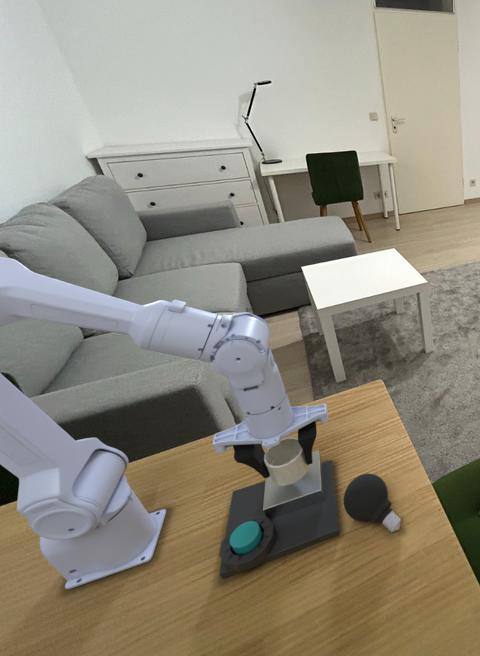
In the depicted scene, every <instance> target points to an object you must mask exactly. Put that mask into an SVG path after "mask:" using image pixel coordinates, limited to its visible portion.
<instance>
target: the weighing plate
mask: <svg viewBox="0 0 480 656" xmlns="http://www.w3.org/2000/svg"><path fill="white" fill-rule="evenodd" d="M312 461H313V463H312V464H309V468H308V471H307V473H306V474H305V475H304V476H303V477H302V478H301V479H300V480H298V481H297V482H295V483H293V484H290V485H286V486H279V485H277V484H275V483H273V481H272V479H271V477H270V476H269V477H268V478H265V480H264V481H265V492H264V504H263V511H264V513H265V515H266V517H268V518H269V520H271V519H274V518H277V517H280V516H283V515H285V514H288V513H291V512H294V511H297V510H300V509H303V508H306V507H308V506H311V505H314V504H317V503H320V502H323V501H325V495H324V479H323V462H324V461H323V459H322V455H321V452H320V449H318V450H315V451H312Z"/></svg>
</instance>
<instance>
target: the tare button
mask: <svg viewBox="0 0 480 656" xmlns="http://www.w3.org/2000/svg"><path fill="white" fill-rule="evenodd" d="M261 539H262V531H261V529H260V527H259V525H258V523H256V522H254V521H249V522H245V523H243V524H241V525H240V526H238V527H237V528H236V529H235V530H234V531H233V533H232V534H231V537H230V545H231V546H232V548H233V550H234V552H235V553H237V554H245V553H248V552H250V551H252V550H253V549H254V548H255V547H256V546H257V545H258V544H259V543H260V541H261Z"/></svg>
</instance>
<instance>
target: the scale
mask: <svg viewBox="0 0 480 656" xmlns="http://www.w3.org/2000/svg"><path fill="white" fill-rule="evenodd" d="M334 468H335V467H334V463H333V460H332V459H329V460H326V461H323V479H324V495H325V501H323V502H320V503H317V504H314V505H311V506H308V507H306V508H303V509H300V510H297V511H294V512H291V513H288V514H285V515H283V516H280V517H277V518H274V519H271V520H269V518H268V517H266V515H265V513H264V511H263V504H264V492H265V480H264V481H261V482H258V483H255V484H251V485H248V486H245V487H243V488H238V489H235V490H233V491H232V495H231V500H230V508H229V513H228V519H227V525H226V532H225V537H224V538H223V540H222V541H221V544H220V547H219V548H220V549H219V557H220V559H221V561H220V567H219V576H220V578H221V580H226V579H228V578H231V577H233V576H236V575H239V574H242V573H244V572H247V571H249V570H252V569H254V568H258V567H261V566H263V565H266V564H268V563H271V562H273V561H276V560H278V559H281V558H283V557H286V556H289V555H292V554H294V553H297V552H300V551H302V550H305V549H307V548H310V547H313V546H315V545H318V544H320V543H321V544H322V543H323V542H326V541H329V540H331V539H335V538H336V537H339V536H340V525H339V514H338V513H339V512H338V503H337V492H336V491H337V490H336V481H335V471H334V470H335V469H334ZM249 521H254V522H256V523H258V525H259V527H260V529H261V531H262V539H261V541H260V543H259V544H258V545H257V546H256V547H255V548H254V549H253V550H252V551H250V552H248V553H245V554H237V553H235V552H234V550H233V548H232V546H231V545H230V537H231V534H232V533H233V531H234V530H235V529H236V528H237V527H238V526H240V525H241V524H243V523H245V522H249Z"/></svg>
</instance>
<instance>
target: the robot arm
mask: <svg viewBox="0 0 480 656" xmlns="http://www.w3.org/2000/svg"><path fill="white" fill-rule="evenodd" d="M25 320H33V321H39V322H46V323H52V324H58V325H64V326H70V327H77V328H83V329H89V330H95V331H101V332H108V333H114V334H121V335H127V336H129V338H131V339H132V341H133V342H134V343H135V344H136V346H137V347H138V348H139V349H141V350H145V351H150V352H155V353H161V354H165V355H171V356H175V357H180V358H184V359H190V360H196V361H200V362H205V363H209V366H210V367H211V369H212V370H213V371H214V372H216V373H217V374H218V375H220V376H222V377H224V378H226V379H227V381H228V385H229V387H230V389H231V391H232V394H233V396H234V399H235V401H236V403H237V405H238V407H239V410H240V413H241V415H242V417H243V420H244V421H242V422H240V423H238V424H236V425H233V426H232V427H230V428H228V429H225V430H222V431H220V432H216V433H214V435H213V440H212V446H213V448H214V450H215V453H216V454H217V455H218V454H221V453H225V452H226V451H227V449H228V448H230V447H232V448H233V452H234V453H233V460H234V461H235V462H236V463H238V464H243V465H245V466H248V467H249V468H251V469H253V470H254V471H256V472H257V473H258V474H260V475H261V476H262V478H264V479H266V478H268V477H269V476H270V475H269V472H268V470H267V468H266V465H265V463H264V454H265V453H266V451H265V450H264V449H268V448H270V447H273V446H277V445H278V444H279V443H280V441H281V439H284V438H286V437H287V436H289V435H290V434H293V433H295V432H297V438H298V443H299V444H300V446H301V447H302V449H303V452H304V455H305V459H306V463H307V465H309V464H312V463H313V461H312V452H313V447H314V444H315V441H316V439H317V433H318V432H317V431H318V429H317V423H318V422H321V424H326V423H329V422H330V415H329V410H328V407H327V406H328V405H327V404H326V403H322V404H317V405H303V406H301V405H300V406H292V405H291V403H290V400H289V396H288V394H287V391H286V388H285V383H284V382H283V378H282V376H281V373H280V370H279V367H278V364H277V362H276V360H275V358H274V355H273V352H272V350H271V347H269V345H270V340H271V328H270V326H269V324H268V323H267V322H266V320H264V319H263V318H262V317H261V316H258V315H256V314H253V313H252V312H249V311H248V312H247V311H243V312H236V313H233V314H226V313H223V314H222V315H221V314H217V313H214V312H210V311H207V310H202V309H199V308H195V307H190V306H187V302H185V301H182V300H178V299H173V300H172V301H168V300H164V299H160V300H156V301H154V302H150V303H147V304H138V303H135V302H132V301H128V300H125V299H122V298H118V297H115V296H113V295H109V294H106V293H102V292H99V291H96V290H92V289H89V288H86V287H83V286H79V285H75V284H73V283H70V282H66V281H63V280H60V279H56V278H53V277H50V276H46V275H43V274H40V273H37V272H35V271H32V270H30V269H29V268H28V267H27V266H25V265H24V264H22V263H21V262H19V261H18V260H17V259H15V258H11V257H5V256H0V328H2V327H4V326H8V325H10V324H13V323H17V322H20V321H25ZM129 463H130V461H129V458H128V456H127V454H125V453H124V452H123V451H121V450H119V449H117V448H115V447H112V446H109V445H107V444H106V443H104V442H102V441H101V440H100V439H99V438H97V437H87V438H82V439H76V440H75V439H74V437H73V436H71V435H70V434H69V433H68V432H67V431H66V430H65V429H63V428H62V427H61V426H60V425H58V423H57V422H56V421H54V420H53V419H52V418H51V417H50V416H49V415H48V414H47V413H45V412H44V411H43V410H42V409H41V408H40V407H39V406H38V405H37V404H35V402H33V400H31V399H30V398H29V397H28V396H26V395H25V394H24V392H22V391H21V390H20V389H19V388H18V387H16V385H14V384H13V383H12V382H11V381H10V380H9V379H8V378H6V377H5V376H4V375H3V374H2V373H1V372H0V466H2V467H3V468H4V469H6V470H7V471H8V472H10V473H11V474H12V475H14V476H15V477H17V478H18V492H17V502H16V512H18V513H19V514H20V515H22V516H24V517H25V518H26V520H27V522H28V527H29V529H30V531H32V532H33V534H35V535H36V536H39V537H40V538H39V547H40V553H41V555H42V556H43V557H44V559H45V560H46V561H47V562H48V563H49V564H50V565H51V566H52V567H53V568H54V569H55V570H56V572H58V573H59V574H60V575H61V577H63V578H64V579H65V580H66V582H65V585H64V588H65V590H71V589H74V588H76V587H80V586H82V585H86V584H88V583H91V582H93V581H97V580H100V579H103V578H106V577H108V576H111V575H114V574H117V573H119V572H120V573H121V572H122V571H125V570H129V569H131V568H134V567H137V566H140V565H143V564H145V563H149V562H150V561H151V560H152V559H153V557H154V553H155V551H156V548H157V544H158V541H159V537H160V534H161V531H162V528H163V525H164V521H165V518H166V516H167V510H166V509H164V508H163V509H160V510H157V511H153V512H150V513H149V512H148V511H147V509H146V508H145V506H144V505H143V503H142V502H141V501H140V499H139V497H138V496H137V495H136V493H135V492H134V491H133V489H132V488H131V486H130V485H129V483H128V480H129V479H128V477H127V476H126V474H125V472H126V471H127V469H128V467H129Z"/></svg>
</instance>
